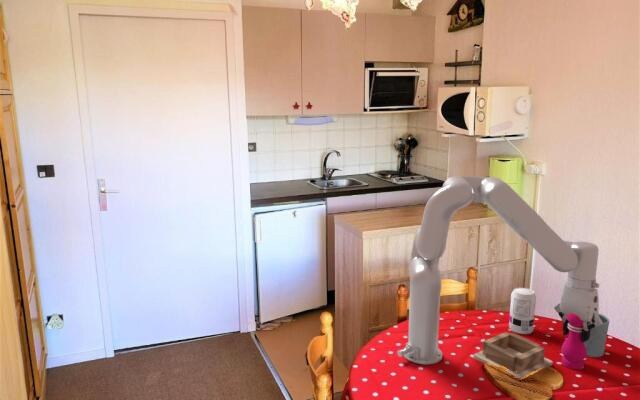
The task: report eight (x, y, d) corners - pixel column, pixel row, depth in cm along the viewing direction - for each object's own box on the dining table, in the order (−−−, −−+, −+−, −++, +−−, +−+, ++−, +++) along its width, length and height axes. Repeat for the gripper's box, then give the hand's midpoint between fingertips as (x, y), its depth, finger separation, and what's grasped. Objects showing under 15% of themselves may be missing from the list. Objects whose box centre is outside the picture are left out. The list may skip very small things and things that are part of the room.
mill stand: (519, 381, 148) (520, 364, 147) (473, 357, 162) (474, 341, 161) (552, 364, 157) (553, 348, 156) (506, 343, 171) (507, 328, 170)
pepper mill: (588, 371, 153) (595, 310, 149) (563, 369, 155) (569, 309, 151) (581, 359, 160) (587, 301, 156) (557, 357, 161) (563, 299, 158)
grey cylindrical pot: (597, 361, 159) (601, 326, 157) (566, 349, 167) (569, 316, 164) (610, 351, 165) (614, 317, 163) (579, 340, 173) (582, 308, 171)
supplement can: (504, 326, 184) (506, 288, 181) (522, 323, 186) (525, 285, 183) (518, 336, 176) (522, 296, 173) (538, 333, 179) (541, 293, 176)
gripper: (616, 288, 147) (609, 345, 151) (561, 272, 161) (556, 324, 164) (603, 293, 143) (596, 351, 146) (548, 276, 157) (543, 330, 160)
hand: (575, 336), depth 155 cm, fingers closed on pepper mill, 5 cm apart
